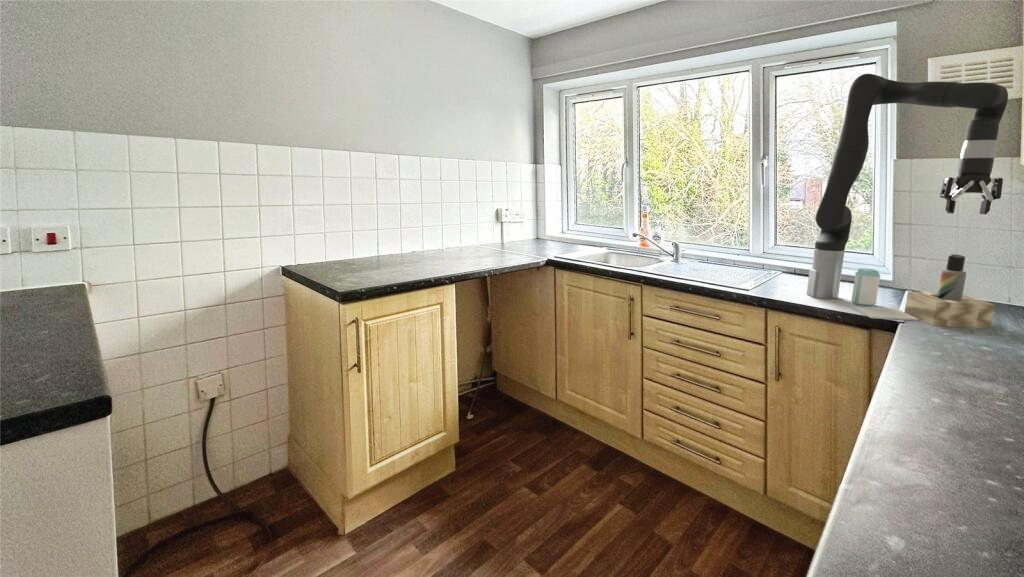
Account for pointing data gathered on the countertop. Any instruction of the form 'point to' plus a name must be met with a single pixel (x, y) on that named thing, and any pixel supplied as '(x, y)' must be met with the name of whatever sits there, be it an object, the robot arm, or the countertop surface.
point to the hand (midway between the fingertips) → (966, 213)
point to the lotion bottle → (952, 279)
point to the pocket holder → (949, 310)
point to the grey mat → (885, 313)
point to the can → (865, 287)
